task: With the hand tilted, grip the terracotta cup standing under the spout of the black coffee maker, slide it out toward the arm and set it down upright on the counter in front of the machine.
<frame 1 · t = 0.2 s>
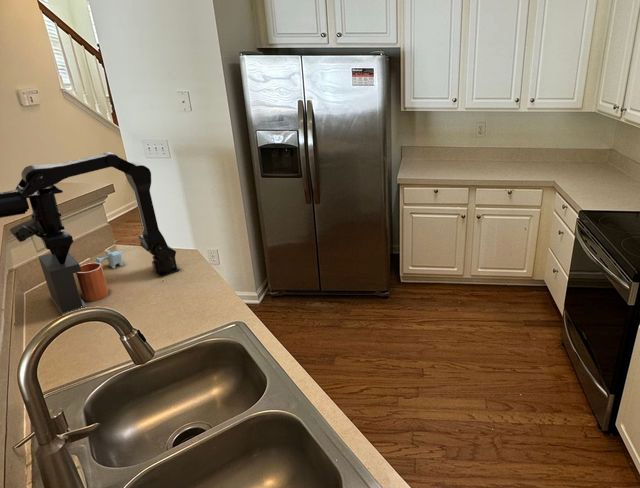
hand: (58, 258, 129), 15 cm above the counter, tool pointing down
figurine: (112, 267, 156), on the counter
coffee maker: (69, 303, 133), on the counter
cup: (95, 295, 138), on the counter
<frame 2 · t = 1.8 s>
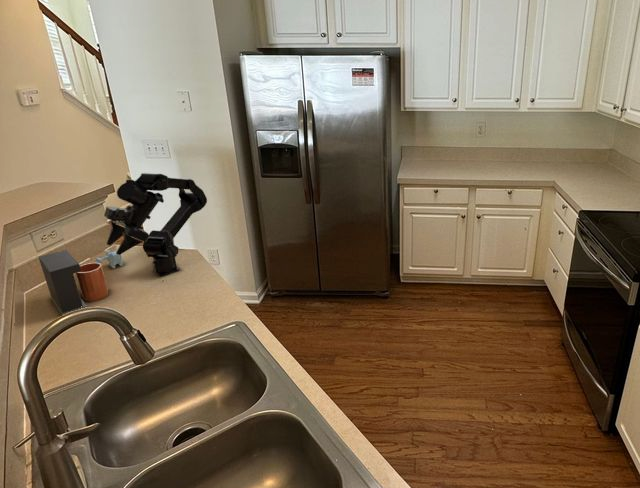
hand: (112, 249, 138), 14 cm above the counter, tool tilted 45°, fingers open, 9 cm apart
nothing on the counter moved.
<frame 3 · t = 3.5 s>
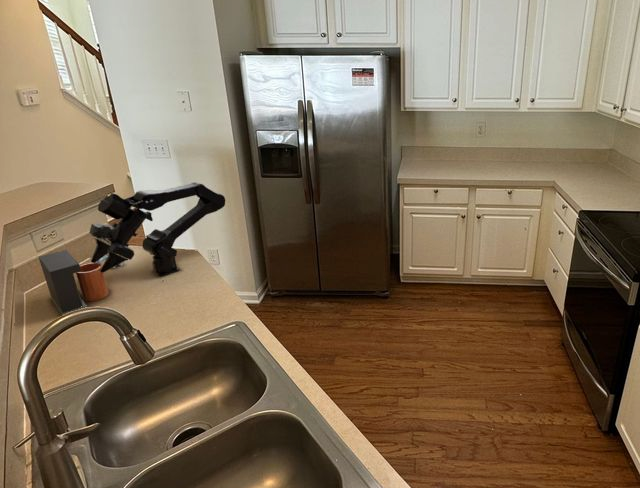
hand: (96, 267, 136), 9 cm above the counter, tool tilted 45°, fingers open, 9 cm apart
nothing on the counter moved.
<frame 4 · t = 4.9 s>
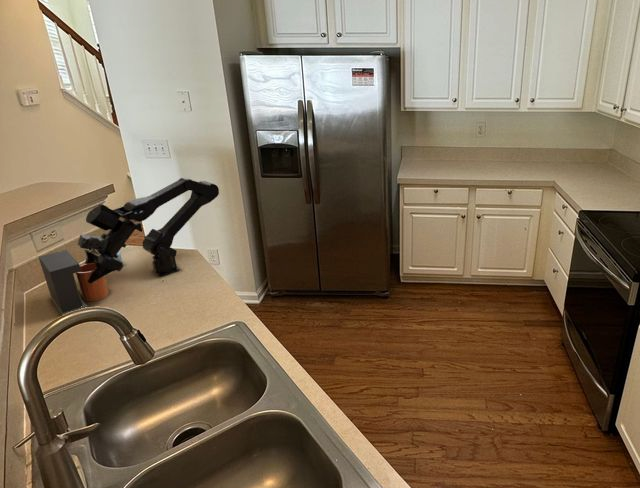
hand: (85, 278, 135), 7 cm above the counter, tool tilted 45°, fingers closed on cup, 7 cm apart
cup: (95, 295, 138), on the counter, touching gripper
everything else where it was.
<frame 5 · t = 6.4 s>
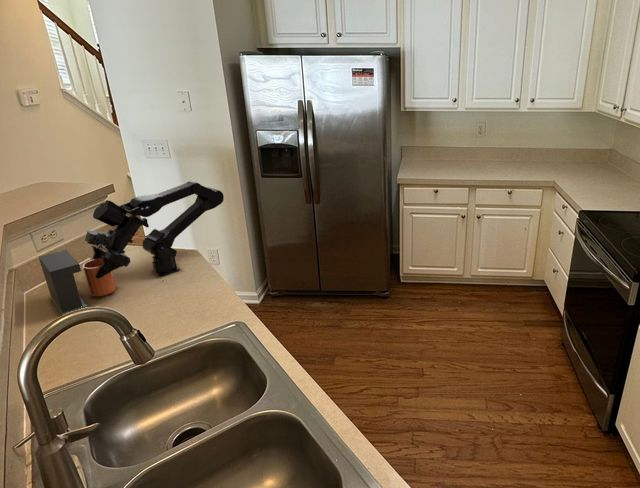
hand: (93, 274, 136), 7 cm above the counter, tool tilted 45°, fingers closed on cup, 7 cm apart
cup: (103, 290, 139), point 1 cm above the counter, touching gripper
everything else where it was.
when the fingers open (7 cm above the counter, at t = 7.7 s): cup stays where it is, on the counter.
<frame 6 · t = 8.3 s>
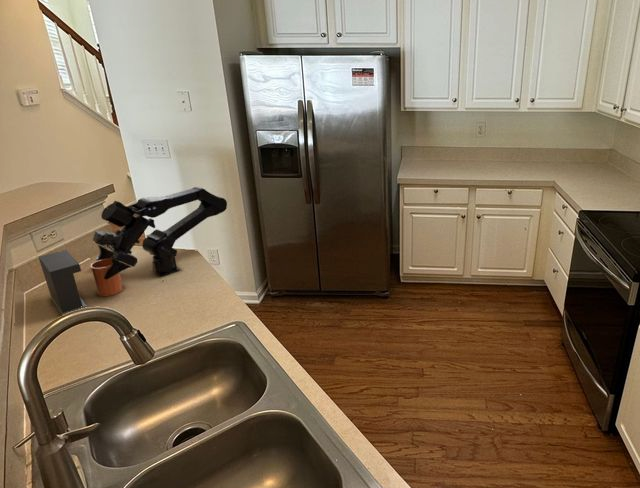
hand: (100, 274, 137), 7 cm above the counter, tool tilted 45°, fingers open, 9 cm apart
cup: (110, 290, 141), on the counter
everything else where it was.
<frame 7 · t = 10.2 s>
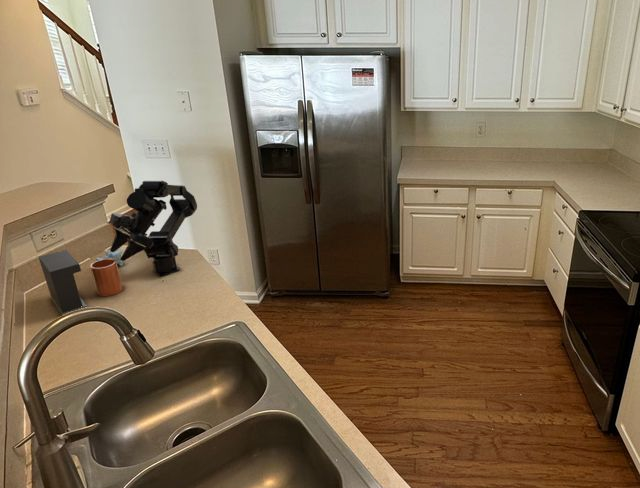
hand: (116, 256, 139), 11 cm above the counter, tool tilted 45°, fingers open, 9 cm apart
nothing on the counter moved.
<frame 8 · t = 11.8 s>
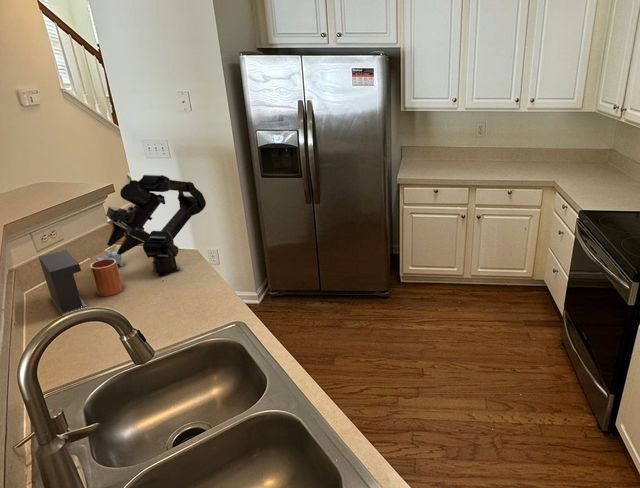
hand: (113, 249, 138), 14 cm above the counter, tool tilted 45°, fingers open, 9 cm apart
nothing on the counter moved.
at the end: cup 0.1 cm from the target spot, on the counter; cup tilted 0°; cup touching counter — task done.
